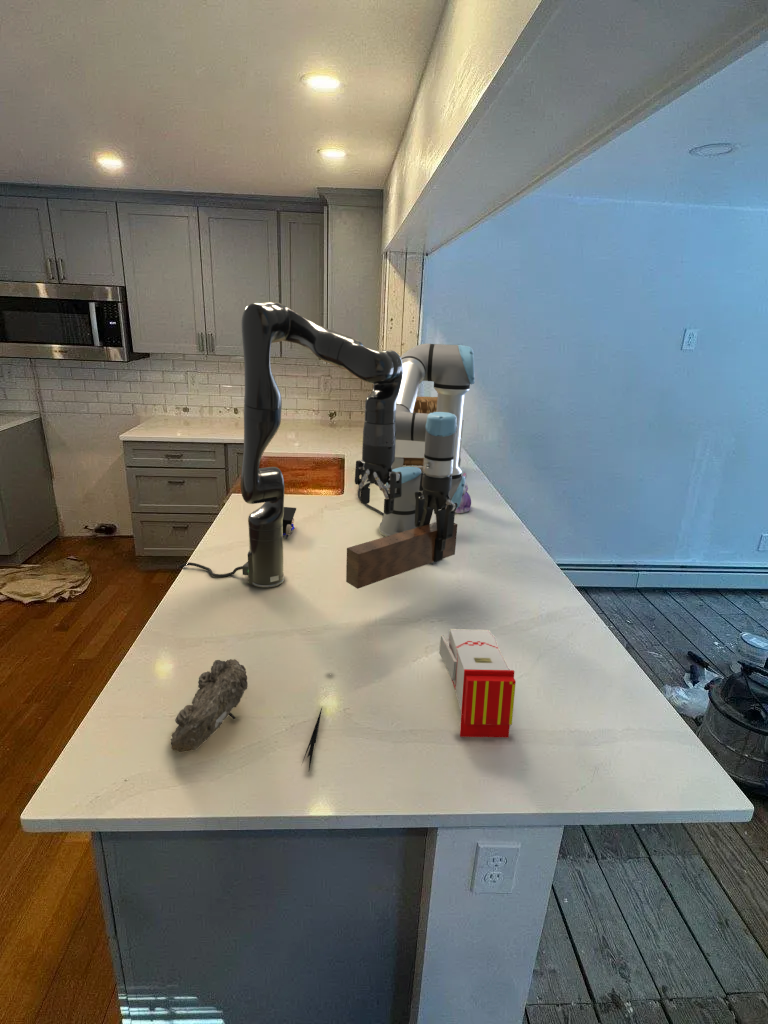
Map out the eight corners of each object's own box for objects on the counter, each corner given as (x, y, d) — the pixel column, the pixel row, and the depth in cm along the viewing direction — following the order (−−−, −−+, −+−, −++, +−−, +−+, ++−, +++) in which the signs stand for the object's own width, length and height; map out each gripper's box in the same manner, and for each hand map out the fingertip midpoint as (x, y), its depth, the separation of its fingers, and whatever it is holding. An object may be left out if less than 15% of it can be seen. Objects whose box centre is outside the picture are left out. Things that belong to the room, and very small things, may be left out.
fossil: (195, 660, 117) (247, 628, 112) (227, 691, 120) (279, 661, 115) (146, 746, 98) (206, 711, 93) (185, 779, 101) (245, 748, 96)
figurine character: (292, 545, 190) (297, 524, 203) (291, 525, 186) (296, 505, 200) (271, 544, 189) (278, 523, 203) (270, 524, 186) (277, 504, 199)
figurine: (457, 515, 220) (461, 478, 215) (443, 507, 229) (446, 471, 224) (477, 512, 224) (481, 475, 219) (462, 504, 233) (466, 469, 228)
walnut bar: (357, 588, 135) (358, 554, 132) (346, 581, 138) (346, 547, 135) (454, 554, 156) (457, 524, 153) (442, 549, 159) (445, 519, 156)
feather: (331, 679, 122) (336, 673, 122) (307, 777, 96) (313, 769, 95) (324, 675, 122) (329, 669, 121) (298, 772, 95) (304, 764, 95)
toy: (489, 613, 130) (525, 677, 101) (485, 667, 133) (518, 744, 104) (437, 612, 130) (457, 676, 101) (434, 666, 133) (453, 743, 103)
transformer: (381, 463, 289) (385, 382, 275) (444, 464, 292) (450, 384, 279) (389, 482, 257) (393, 392, 243) (459, 483, 261) (467, 394, 247)
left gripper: (347, 437, 131) (345, 503, 137) (387, 449, 121) (383, 520, 127) (372, 433, 136) (369, 497, 142) (412, 445, 126) (408, 514, 132)
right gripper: (403, 468, 149) (398, 549, 157) (452, 484, 136) (445, 572, 144) (423, 464, 154) (418, 543, 161) (473, 480, 141) (464, 565, 149)
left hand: (376, 508), depth 134 cm, fingers open, 8 cm apart
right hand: (431, 556), depth 153 cm, fingers closed on walnut bar, 4 cm apart
